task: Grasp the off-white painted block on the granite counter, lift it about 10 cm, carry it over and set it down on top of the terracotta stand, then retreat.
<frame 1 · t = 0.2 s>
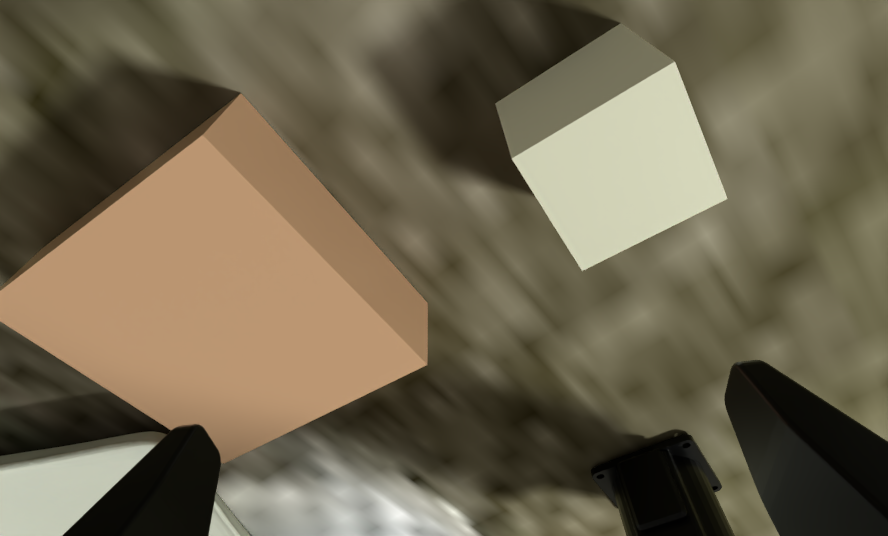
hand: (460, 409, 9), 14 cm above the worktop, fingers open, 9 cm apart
salad plate: (117, 513, 36), on the worktop
block: (584, 120, 20), on the worktop
stand: (244, 276, 24), on the worktop
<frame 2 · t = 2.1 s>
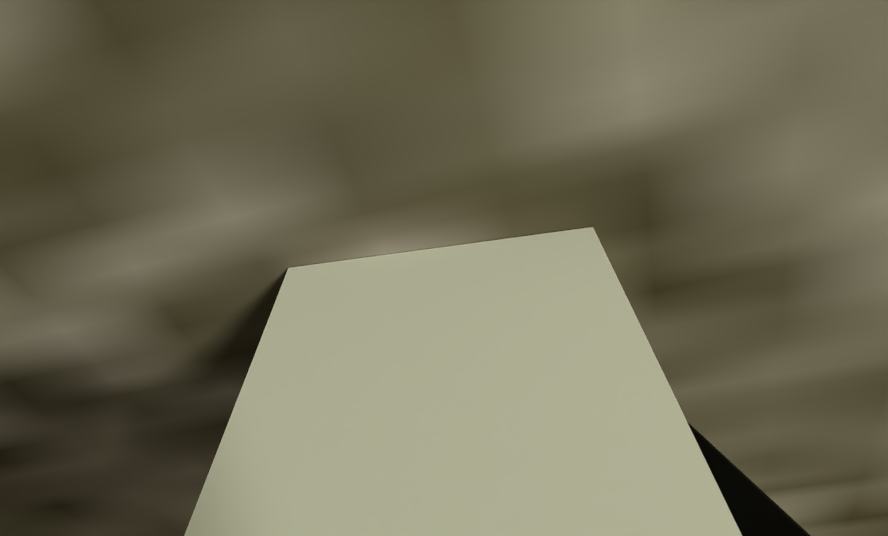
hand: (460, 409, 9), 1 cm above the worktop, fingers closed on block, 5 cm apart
block: (457, 357, 10), on the worktop, touching gripper
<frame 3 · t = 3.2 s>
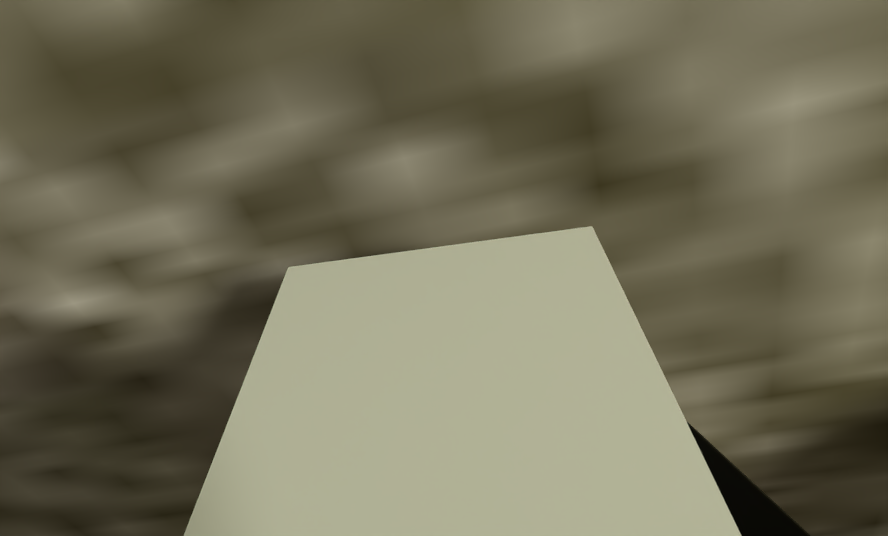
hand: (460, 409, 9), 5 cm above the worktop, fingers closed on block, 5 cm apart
block: (457, 356, 10), point 4 cm above the worktop, touching gripper
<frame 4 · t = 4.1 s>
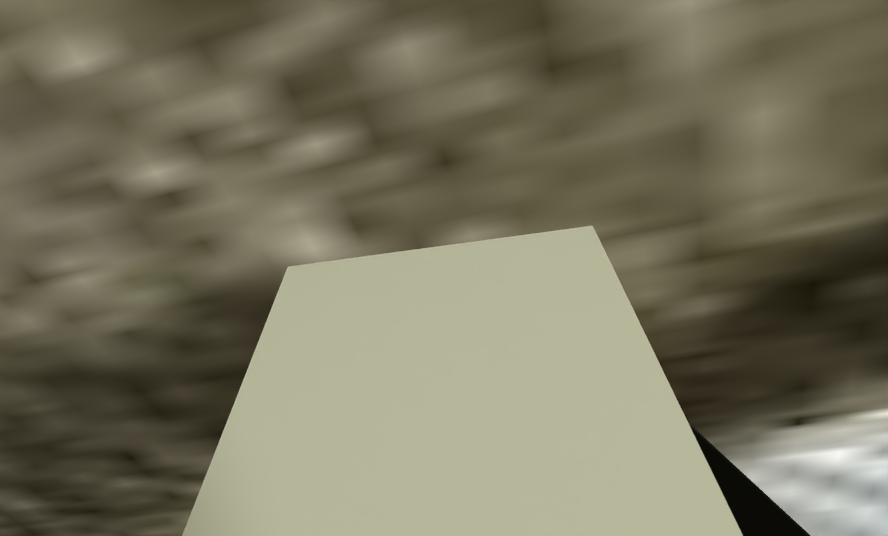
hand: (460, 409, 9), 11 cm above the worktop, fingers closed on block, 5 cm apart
block: (457, 356, 10), point 10 cm above the worktop, touching gripper
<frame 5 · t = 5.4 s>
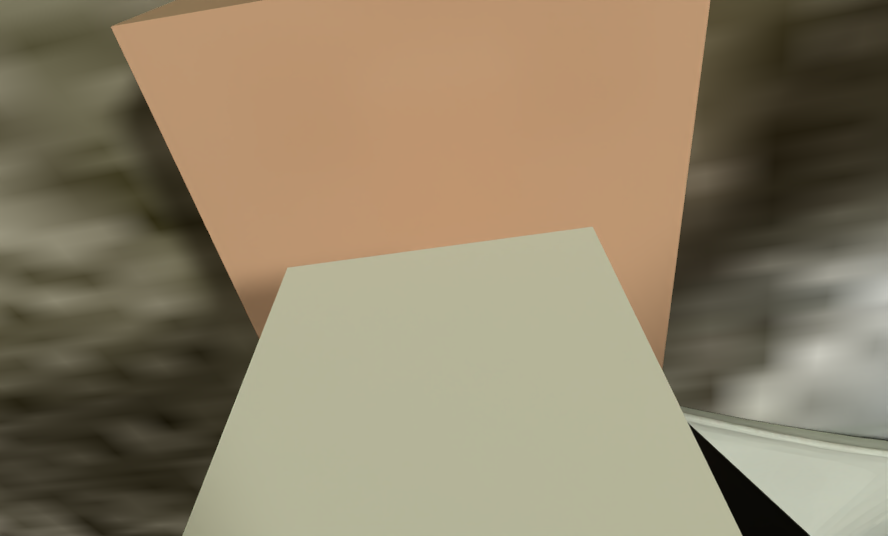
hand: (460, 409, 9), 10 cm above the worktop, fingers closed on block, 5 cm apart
salad plate: (674, 506, 30), on the worktop
block: (457, 357, 10), point 8 cm above the worktop, touching gripper
stand: (444, 171, 17), on the worktop
when the fingers open (6 cm above the worktop, at t = 6.3 s): block drops 1 cm, resting on stand.
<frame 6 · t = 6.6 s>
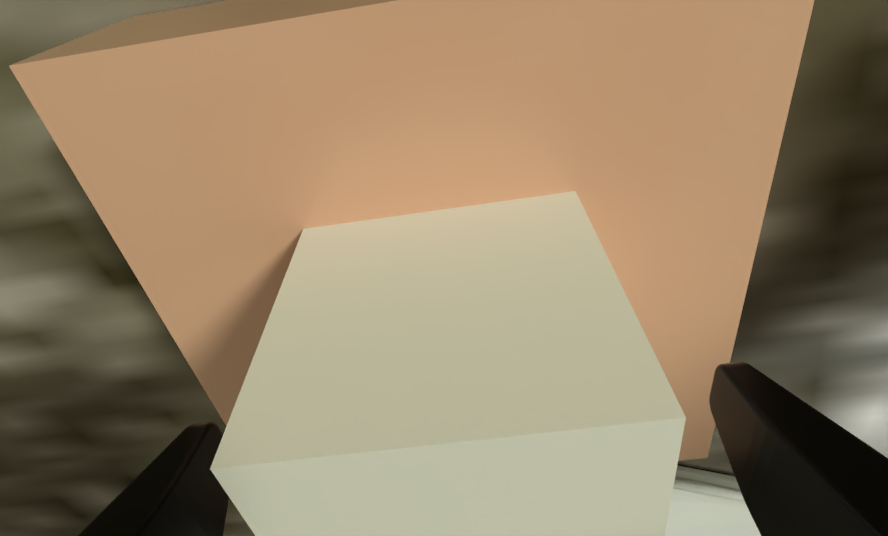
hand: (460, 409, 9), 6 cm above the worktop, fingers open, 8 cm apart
block: (455, 314, 11), point 4 cm above the worktop, touching stand
stand: (449, 219, 14), on the worktop
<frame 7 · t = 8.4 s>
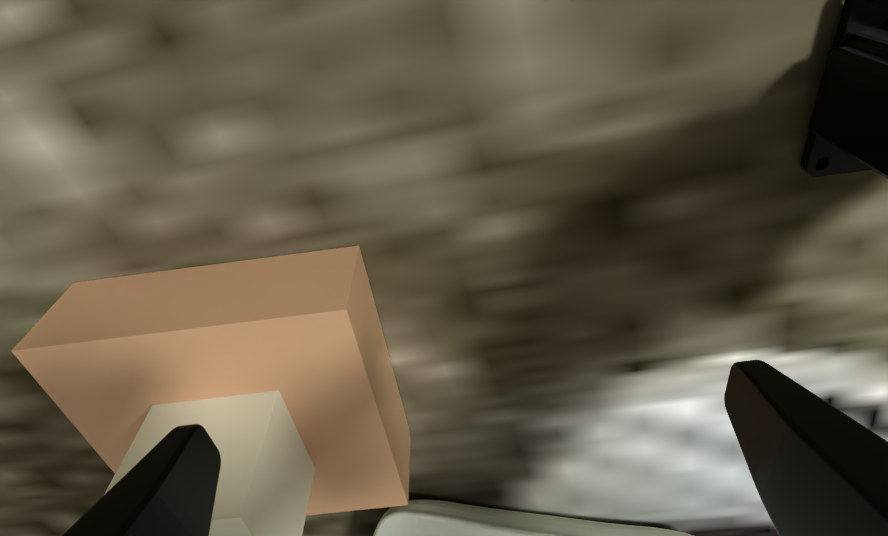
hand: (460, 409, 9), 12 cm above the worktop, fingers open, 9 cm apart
block: (238, 438, 22), point 4 cm above the worktop, touching stand
stand: (263, 367, 25), on the worktop
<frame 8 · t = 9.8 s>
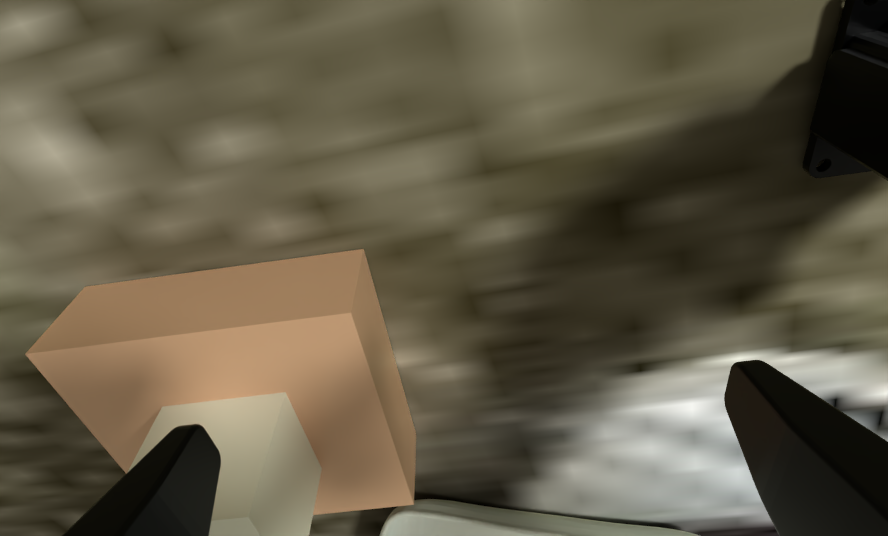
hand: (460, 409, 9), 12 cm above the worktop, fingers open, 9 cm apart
block: (246, 439, 22), point 4 cm above the worktop, touching stand
stand: (270, 369, 25), on the worktop
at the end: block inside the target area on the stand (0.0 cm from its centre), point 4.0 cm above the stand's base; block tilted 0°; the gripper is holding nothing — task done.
